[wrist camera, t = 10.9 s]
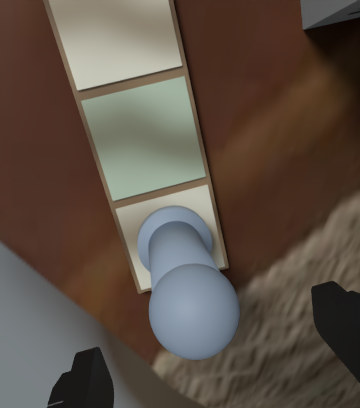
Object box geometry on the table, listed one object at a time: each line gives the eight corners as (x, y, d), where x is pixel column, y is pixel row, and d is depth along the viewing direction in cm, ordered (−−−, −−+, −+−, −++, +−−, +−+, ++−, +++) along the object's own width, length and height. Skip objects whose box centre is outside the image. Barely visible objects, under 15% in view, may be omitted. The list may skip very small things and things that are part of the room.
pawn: (214, 260, 22) (274, 371, 12) (148, 279, 21) (156, 408, 12) (200, 197, 20) (255, 266, 11) (128, 216, 20) (120, 305, 10)
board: (225, 262, 23) (229, 268, 22) (138, 287, 22) (138, 294, 22) (157, -59, 17) (159, -70, 16) (34, -34, 16) (28, -43, 15)
